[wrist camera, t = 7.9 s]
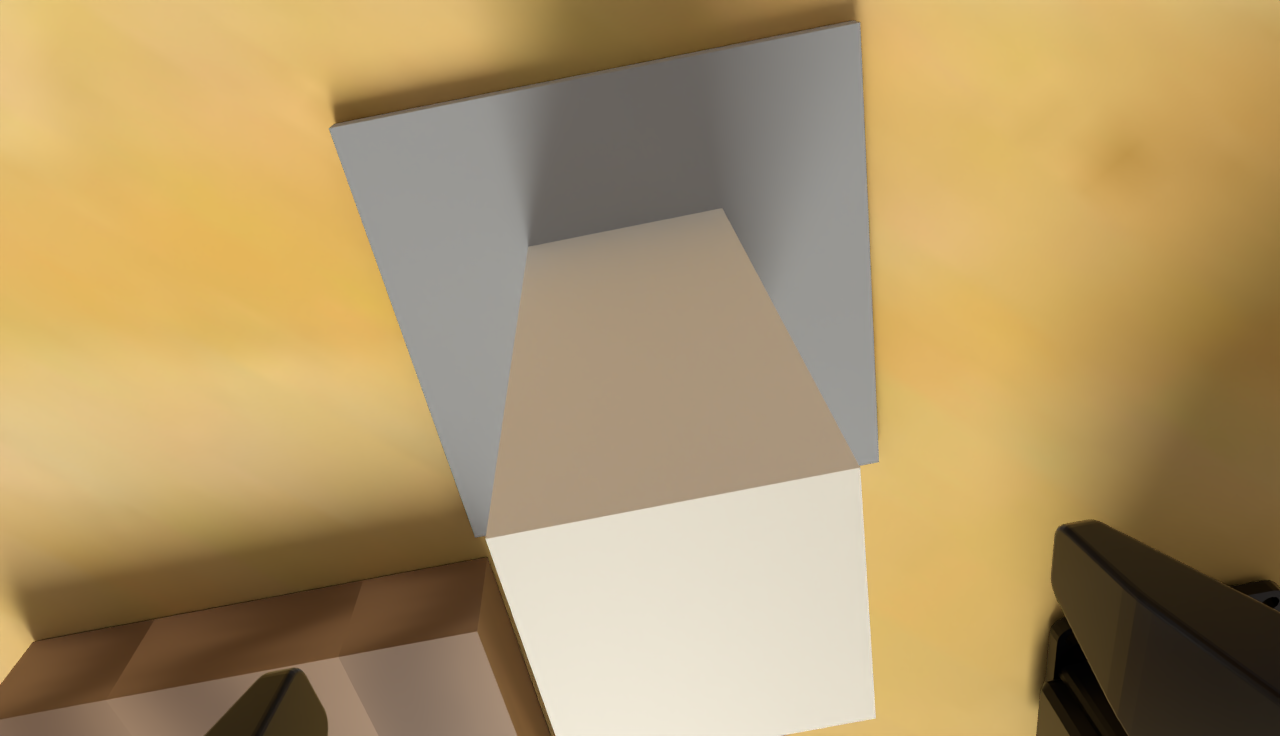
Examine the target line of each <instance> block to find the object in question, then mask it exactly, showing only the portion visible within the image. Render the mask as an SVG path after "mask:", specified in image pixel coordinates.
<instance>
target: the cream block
mask: <svg viewBox="0 0 1280 736" xmlns="http://www.w3.org/2000/svg"><path fill="white" fill-rule="evenodd" d="M486 542H487V545H488V548H489V550H490V553H491V556H492V559H493V562H494V564H495V567H496V570H497V573H498V576H499V578H500V581H501V584H502V587H503V590H504V592H505V595H506V598H507V601H508V604H509V606H510V609H511V612H512V615H513V618H514V621H515V623H516V626H517V629H518V632H519V635H520V637H521V640H522V643H523V646H524V649H525V651H526V654H527V657H528V660H529V663H530V665H531V668H532V671H533V674H534V677H535V680H536V682H537V685H538V688H539V691H540V694H541V696H542V699H543V702H544V705H545V708H546V710H547V713H548V716H549V719H550V722H551V724H552V727H553V730H554V733H555V736H782V735H787V734H793V733H798V732H804V731H809V730H815V729H820V728H825V727H831V726H836V725H842V724H847V723H853V722H858V721H864V720H869V719H875V718H876V715H875V699H874V683H873V667H872V651H871V635H870V618H869V602H868V586H867V570H866V554H865V538H864V522H863V506H862V490H861V474H860V466H859V465H858V463H857V461H856V459H855V457H854V455H853V453H852V451H851V449H850V448H849V446H848V444H847V442H846V440H845V438H844V436H843V434H842V433H841V431H840V429H839V427H838V425H837V423H836V421H835V419H834V417H833V416H832V414H831V412H830V410H829V408H828V406H827V404H826V402H825V401H824V399H823V397H822V395H821V393H820V391H819V389H818V387H817V385H816V384H815V382H814V380H813V378H812V376H811V374H810V372H809V370H808V369H807V367H806V365H805V363H804V361H803V359H802V357H801V355H800V353H799V352H798V350H797V348H796V346H795V344H794V342H793V340H792V338H791V337H790V335H789V333H788V331H787V329H786V327H785V325H784V323H783V321H782V320H781V318H780V316H779V314H778V312H777V310H776V308H775V306H774V305H773V303H772V301H771V299H770V297H769V295H768V293H767V291H766V289H765V288H764V286H763V284H762V282H761V280H760V278H759V276H758V274H757V273H756V271H755V269H754V267H753V265H752V263H751V261H750V259H749V257H748V256H747V254H746V252H745V250H744V248H743V246H742V244H741V242H740V241H739V239H738V237H737V235H736V233H735V231H734V229H733V227H732V225H731V224H730V222H729V220H728V218H727V216H726V214H725V212H724V210H723V209H722V208H720V209H715V210H710V211H705V212H700V213H695V214H690V215H685V216H680V217H675V218H670V219H665V220H660V221H655V222H650V223H645V224H640V225H635V226H630V227H625V228H620V229H615V230H610V231H605V232H600V233H595V234H590V235H585V236H580V237H575V238H570V239H565V240H560V241H555V242H550V243H544V244H539V245H534V246H529V247H528V251H527V258H526V265H525V272H524V278H523V285H522V292H521V299H520V306H519V313H518V320H517V326H516V333H515V340H514V347H513V354H512V361H511V368H510V374H509V381H508V388H507V395H506V402H505V409H504V416H503V422H502V429H501V436H500V443H499V450H498V457H497V463H496V470H495V477H494V484H493V491H492V498H491V505H490V511H489V518H488V525H487V532H486Z"/></svg>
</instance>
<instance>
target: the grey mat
mask: <svg viewBox="0 0 1280 736" xmlns="http://www.w3.org/2000/svg"><path fill="white" fill-rule="evenodd" d="M329 130H330V133H331V136H332V139H333V142H334V144H335V147H336V150H337V153H338V156H339V158H340V161H341V164H342V167H343V170H344V172H345V175H346V178H347V181H348V184H349V186H350V189H351V192H352V195H353V198H354V200H355V203H356V206H357V209H358V212H359V214H360V217H361V220H362V223H363V226H364V228H365V231H366V234H367V237H368V239H369V242H370V245H371V248H372V251H373V253H374V256H375V259H376V262H377V265H378V267H379V270H380V273H381V276H382V279H383V281H384V284H385V287H386V290H387V293H388V295H389V298H390V301H391V304H392V307H393V309H394V312H395V315H396V318H397V321H398V323H399V326H400V329H401V332H402V335H403V337H404V340H405V343H406V346H407V349H408V351H409V354H410V357H411V360H412V363H413V365H414V368H415V371H416V374H417V377H418V379H419V382H420V385H421V388H422V391H423V393H424V396H425V399H426V402H427V404H428V407H429V410H430V413H431V416H432V418H433V421H434V424H435V427H436V430H437V432H438V435H439V438H440V441H441V444H442V446H443V449H444V452H445V455H446V458H447V460H448V463H449V466H450V469H451V472H452V474H453V477H454V480H455V483H456V486H457V488H458V491H459V494H460V497H461V500H462V502H463V505H464V508H465V511H466V514H467V516H468V519H469V522H470V525H471V528H472V530H473V533H474V536H475V538H476V537H481V536H486V532H487V525H488V518H489V511H490V505H491V498H492V491H493V484H494V477H495V470H496V463H497V457H498V450H499V443H500V436H501V429H502V422H503V416H504V409H505V402H506V395H507V388H508V381H509V374H510V368H511V361H512V354H513V347H514V340H515V333H516V326H517V320H518V313H519V306H520V299H521V292H522V285H523V278H524V272H525V265H526V258H527V251H528V247H529V246H534V245H539V244H544V243H550V242H555V241H560V240H565V239H570V238H575V237H580V236H585V235H590V234H595V233H600V232H605V231H610V230H615V229H620V228H625V227H630V226H635V225H640V224H645V223H650V222H655V221H660V220H665V219H670V218H675V217H680V216H685V215H690V214H695V213H700V212H705V211H710V210H715V209H720V208H722V209H723V210H724V212H725V214H726V216H727V218H728V220H729V222H730V224H731V225H732V227H733V229H734V231H735V233H736V235H737V237H738V239H739V241H740V242H741V244H742V246H743V248H744V250H745V252H746V254H747V256H748V257H749V259H750V261H751V263H752V265H753V267H754V269H755V271H756V273H757V274H758V276H759V278H760V280H761V282H762V284H763V286H764V288H765V289H766V291H767V293H768V295H769V297H770V299H771V301H772V303H773V305H774V306H775V308H776V310H777V312H778V314H779V316H780V318H781V320H782V321H783V323H784V325H785V327H786V329H787V331H788V333H789V335H790V337H791V338H792V340H793V342H794V344H795V346H796V348H797V350H798V352H799V353H800V355H801V357H802V359H803V361H804V363H805V365H806V367H807V369H808V370H809V372H810V374H811V376H812V378H813V380H814V382H815V384H816V385H817V387H818V389H819V391H820V393H821V395H822V397H823V399H824V401H825V402H826V404H827V406H828V408H829V410H830V412H831V414H832V416H833V417H834V419H835V421H836V423H837V425H838V427H839V429H840V431H841V433H842V434H843V436H844V438H845V440H846V442H847V444H848V446H849V448H850V449H851V451H852V453H853V455H854V457H855V459H856V461H857V463H858V465H859V466H860V465H866V464H871V463H876V462H879V453H878V429H877V406H876V383H875V359H874V336H873V312H872V289H871V266H870V242H869V219H868V195H867V172H866V149H865V125H864V102H863V78H862V55H861V32H860V22H857V21H854V20H853V21H848V22H843V23H838V24H833V25H828V26H823V27H818V28H813V29H808V30H803V31H798V32H793V33H788V34H783V35H778V36H773V37H768V38H763V39H758V40H753V41H748V42H743V43H738V44H733V45H728V46H723V47H718V48H713V49H708V50H703V51H698V52H693V53H688V54H683V55H678V56H673V57H668V58H663V59H658V60H653V61H647V62H642V63H637V64H632V65H627V66H622V67H617V68H612V69H607V70H602V71H597V72H592V73H587V74H582V75H577V76H572V77H567V78H562V79H557V80H552V81H547V82H542V83H537V84H532V85H527V86H522V87H517V88H512V89H507V90H502V91H497V92H492V93H487V94H482V95H477V96H472V97H467V98H462V99H457V100H452V101H447V102H442V103H437V104H432V105H427V106H422V107H417V108H412V109H407V110H402V111H397V112H392V113H387V114H382V115H377V116H372V117H367V118H362V119H357V120H351V121H346V122H341V123H336V124H334V125H332V126H331V127H330V128H329Z"/></svg>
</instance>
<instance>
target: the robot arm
mask: <svg viewBox="0 0 1280 736" xmlns="http://www.w3.org/2000/svg"><path fill="white" fill-rule="evenodd" d="M1051 583H1052V587H1053V591H1054V594H1055V596H1056V599H1057V601H1058V603H1059V605H1060V607H1061V609H1062V611H1063V613H1064V615H1065V617H1064V618H1061V619H1059V620H1058V621H1056V622H1055V623H1054V624H1053V625H1052V627H1051V629H1050V634H1049V644H1048V655H1047V666H1046V676H1045V682H1044V684H1043V686H1042V688H1041V690H1040V700H1039V711H1038V722H1037V734H1036V736H1280V587H1279V586H1278V585H1277V584H1276V583H1275V582H1273V581H1270V580H1264V581H1258V582H1252V583H1247V584H1241V585H1236V586H1230V587H1229V586H1227V585H1225V584H1223V583H1221V582H1219V581H1217V580H1215V579H1213V578H1211V577H1209V576H1207V575H1205V574H1203V573H1201V572H1200V571H1198V570H1196V569H1194V568H1192V567H1190V566H1188V565H1186V564H1184V563H1182V562H1180V561H1178V560H1176V559H1174V558H1172V557H1170V556H1168V555H1166V554H1164V553H1162V552H1160V551H1158V550H1156V549H1154V548H1152V547H1150V546H1148V545H1146V544H1144V543H1142V542H1140V541H1138V540H1136V539H1134V538H1132V537H1130V536H1128V535H1126V534H1124V533H1122V532H1120V531H1118V530H1116V529H1114V528H1112V527H1110V526H1108V525H1106V524H1104V523H1102V522H1100V521H1097V520H1084V521H1078V522H1073V523H1067V524H1063V525H1061V526H1059V527H1058V528H1057V530H1056V532H1055V538H1054V548H1053V559H1052V570H1051ZM204 736H328V719H327V715H326V711H325V709H324V707H323V705H322V703H321V702H320V700H319V698H318V696H317V694H316V693H315V691H314V689H313V687H312V685H311V683H310V682H309V680H308V678H307V676H306V675H305V673H304V672H303V671H302V670H301V669H299V668H294V667H293V668H288V669H282V670H277V671H272V672H268V673H265V674H263V675H262V676H260V677H259V678H258V679H257V680H256V681H255V682H254V683H253V684H252V685H251V686H250V687H249V689H248V690H247V691H246V692H245V693H244V694H243V695H242V696H241V697H240V698H239V699H238V700H237V701H236V702H235V703H234V704H233V705H232V706H231V708H230V709H229V710H228V711H227V712H226V713H225V714H224V715H223V716H222V717H221V718H220V719H219V720H218V721H217V722H216V723H215V724H214V725H213V726H212V728H211V729H210V730H209V731H208V732H207V733H206V734H205V735H204Z"/></svg>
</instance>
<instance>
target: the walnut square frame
mask: <svg viewBox="0 0 1280 736" xmlns="http://www.w3.org/2000/svg"><path fill="white" fill-rule="evenodd" d="M293 667H294V668H299V669H301V670H302V671H303V672H304V673H305V675H306V676H307V678H308V680H309V682H310V683H311V685H312V687H313V689H314V691H315V693H316V694H317V696H318V698H319V700H320V702H321V703H322V705H323V707H324V709H325V711H326V715H327V719H328V736H550V733H549V730H548V727H547V724H546V721H545V719H544V716H543V713H542V710H541V707H540V704H539V702H538V699H537V696H536V693H535V690H534V687H533V685H532V682H531V679H530V676H529V673H528V671H527V668H526V665H525V662H524V659H523V656H522V654H521V651H520V648H519V645H518V642H517V639H516V637H515V634H514V631H513V628H512V625H511V622H510V620H509V617H508V614H507V611H506V608H505V605H504V603H503V600H502V597H501V594H500V591H499V588H498V586H497V583H496V580H495V577H494V574H493V571H492V569H491V566H490V563H489V560H488V557H486V558H480V559H475V560H469V561H464V562H459V563H453V564H448V565H443V566H437V567H432V568H427V569H421V570H416V571H411V572H405V573H400V574H394V575H389V576H384V577H378V578H373V579H368V580H362V581H357V582H352V583H346V584H341V585H335V586H330V587H325V588H319V589H314V590H309V591H303V592H298V593H293V594H287V595H282V596H277V597H271V598H266V599H260V600H255V601H250V602H244V603H239V604H234V605H228V606H223V607H218V608H212V609H207V610H202V611H196V612H191V613H185V614H180V615H175V616H169V617H164V618H159V619H153V620H148V621H143V622H137V623H132V624H126V625H121V626H116V627H110V628H105V629H100V630H94V631H89V632H84V633H78V634H73V635H68V636H62V637H57V638H51V639H46V640H41V641H35V642H33V643H32V644H31V645H30V647H29V648H28V649H27V650H26V652H25V653H24V654H23V656H22V657H21V658H20V660H19V661H18V662H17V664H16V665H15V666H14V668H13V669H12V670H11V672H10V673H9V674H8V675H7V677H6V678H5V679H4V681H3V682H2V683H1V685H0V736H204V735H205V734H206V733H207V732H208V731H209V730H210V729H211V728H212V726H213V725H214V724H215V723H216V722H217V721H218V720H219V719H220V718H221V717H222V716H223V715H224V714H225V713H226V712H227V711H228V710H229V709H230V708H231V706H232V705H233V704H234V703H235V702H236V701H237V700H238V699H239V698H240V697H241V696H242V695H243V694H244V693H245V692H246V691H247V690H248V689H249V687H250V686H251V685H252V684H253V683H254V682H255V681H256V680H257V679H258V678H259V677H260V676H262V675H263V674H265V673H268V672H272V671H277V670H282V669H288V668H293Z"/></svg>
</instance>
